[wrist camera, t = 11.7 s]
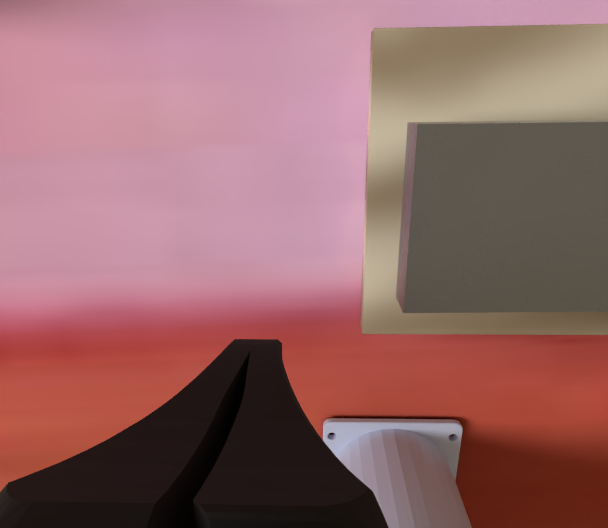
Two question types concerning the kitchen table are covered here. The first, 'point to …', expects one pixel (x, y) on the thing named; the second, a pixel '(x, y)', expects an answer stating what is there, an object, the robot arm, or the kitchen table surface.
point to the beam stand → (465, 108)
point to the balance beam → (504, 217)
